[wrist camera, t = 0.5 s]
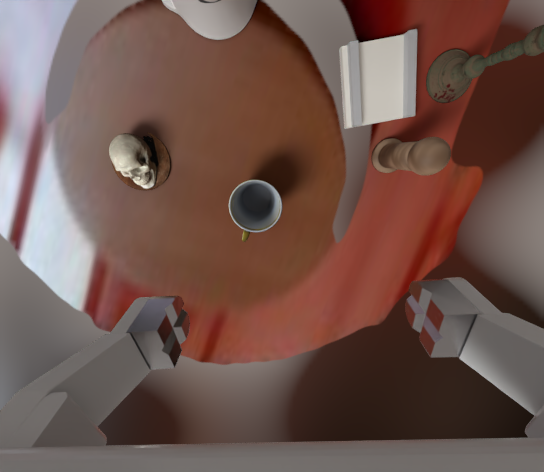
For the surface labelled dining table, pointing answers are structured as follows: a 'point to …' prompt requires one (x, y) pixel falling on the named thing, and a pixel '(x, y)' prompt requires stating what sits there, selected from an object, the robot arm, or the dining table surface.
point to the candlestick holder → (473, 66)
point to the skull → (139, 161)
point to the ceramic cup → (255, 206)
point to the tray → (379, 79)
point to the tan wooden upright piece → (411, 155)
